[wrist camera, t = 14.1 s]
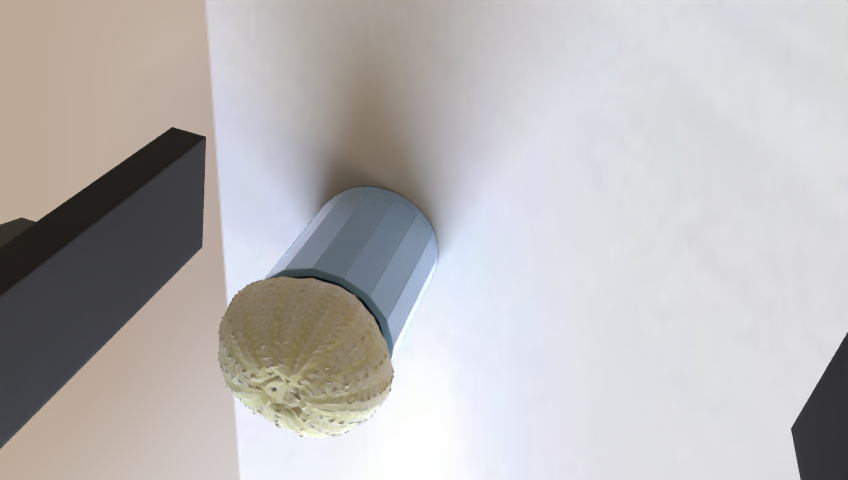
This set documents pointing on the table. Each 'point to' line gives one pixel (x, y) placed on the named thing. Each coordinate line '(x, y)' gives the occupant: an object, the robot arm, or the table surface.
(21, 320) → the robot arm
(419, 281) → the tumbler
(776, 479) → the table surface
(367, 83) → the table surface
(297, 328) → the sea urchin shell
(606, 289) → the table surface
